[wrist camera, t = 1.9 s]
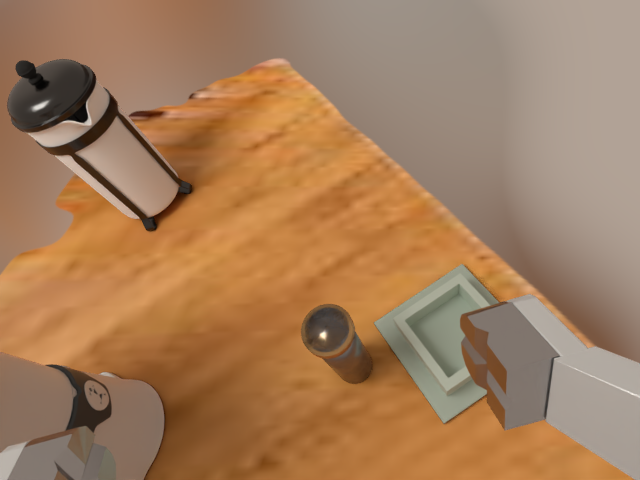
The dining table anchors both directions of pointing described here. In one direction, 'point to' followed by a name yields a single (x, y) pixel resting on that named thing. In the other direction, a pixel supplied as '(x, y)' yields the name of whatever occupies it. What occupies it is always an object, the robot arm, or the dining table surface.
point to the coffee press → (93, 137)
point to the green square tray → (438, 340)
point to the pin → (336, 342)
